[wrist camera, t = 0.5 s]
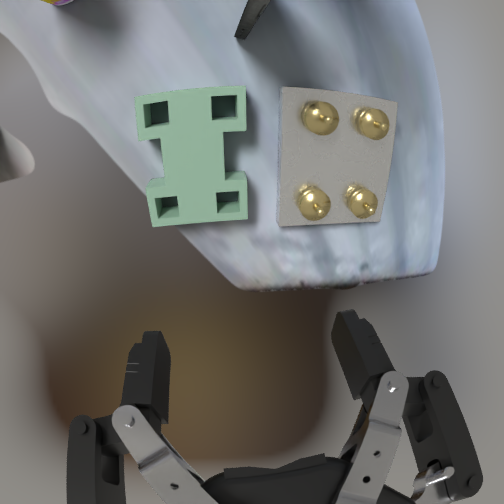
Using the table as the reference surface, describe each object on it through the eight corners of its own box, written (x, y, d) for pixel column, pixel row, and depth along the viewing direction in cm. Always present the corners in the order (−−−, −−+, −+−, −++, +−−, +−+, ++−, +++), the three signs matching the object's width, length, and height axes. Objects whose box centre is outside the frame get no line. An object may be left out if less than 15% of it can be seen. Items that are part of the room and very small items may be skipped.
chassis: (276, 220, 33) (285, 241, 29) (279, 86, 24) (291, 86, 20) (374, 216, 35) (392, 233, 31) (390, 100, 26) (414, 105, 22)
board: (157, 214, 31) (152, 226, 28) (142, 96, 23) (134, 97, 20) (244, 207, 32) (247, 219, 29) (242, 86, 24) (245, 85, 21)
